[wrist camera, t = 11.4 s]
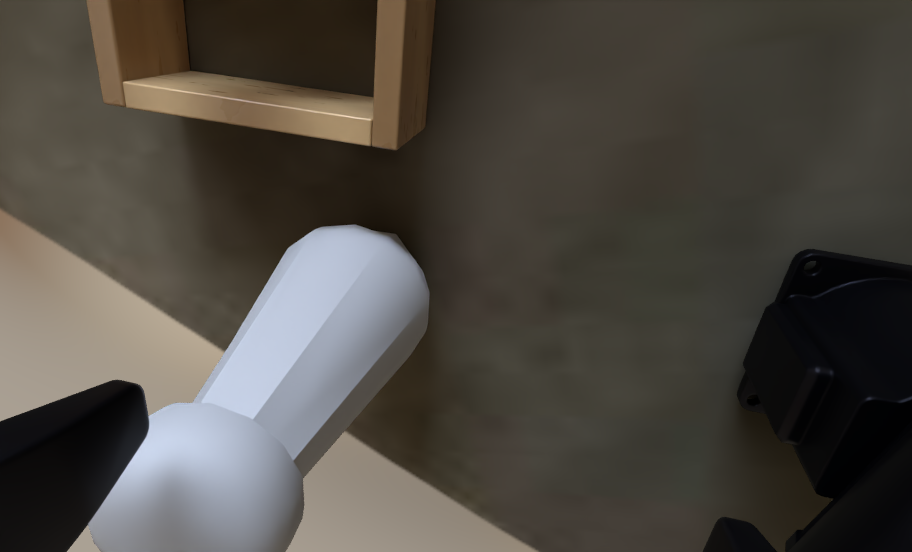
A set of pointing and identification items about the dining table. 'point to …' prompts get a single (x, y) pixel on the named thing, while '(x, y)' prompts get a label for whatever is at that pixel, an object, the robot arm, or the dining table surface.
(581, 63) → the dining table surface
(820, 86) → the dining table surface
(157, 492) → the salt shaker
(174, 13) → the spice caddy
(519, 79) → the dining table surface
